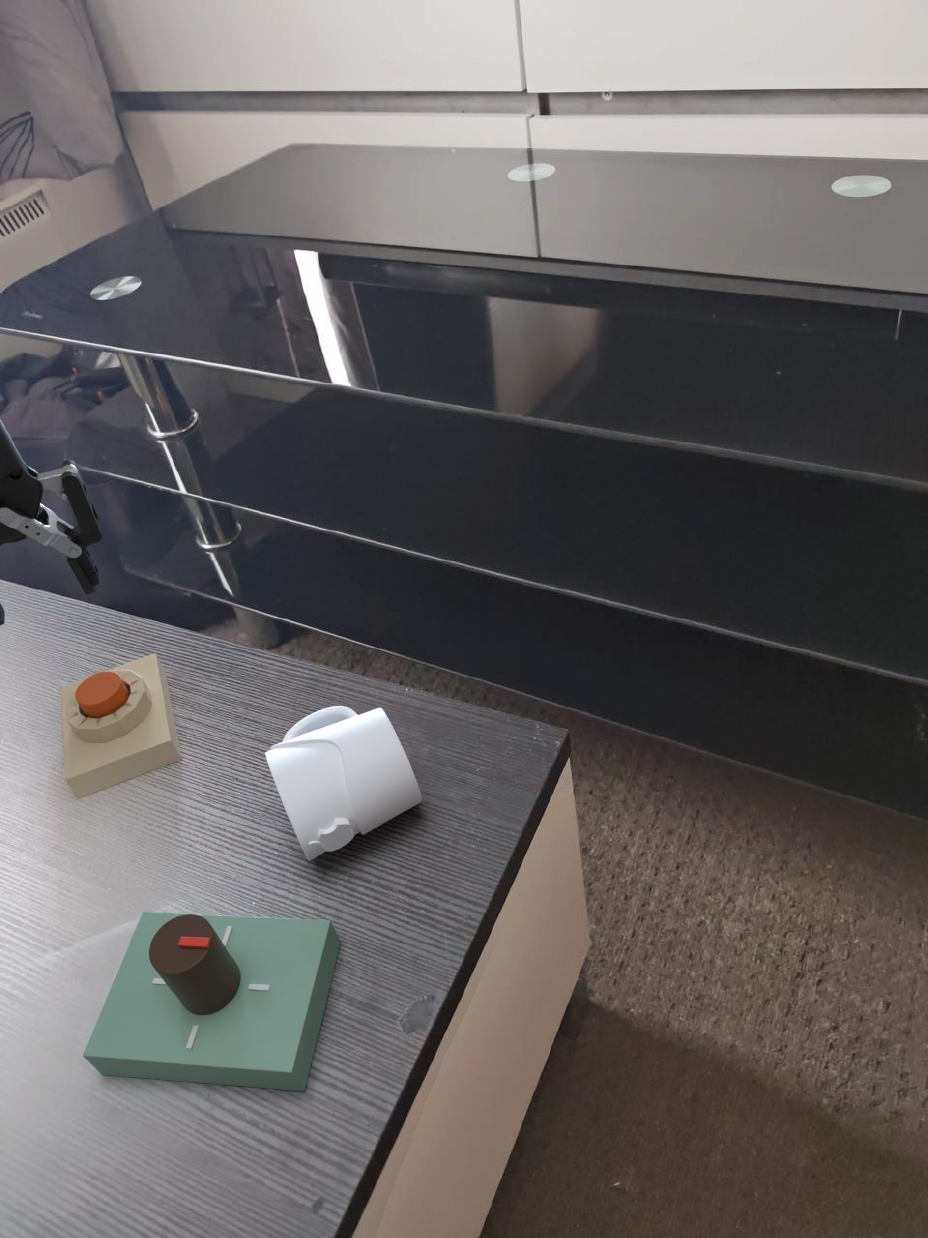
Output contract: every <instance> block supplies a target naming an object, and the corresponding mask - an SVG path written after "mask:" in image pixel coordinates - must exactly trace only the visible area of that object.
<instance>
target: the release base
mask: <svg viewBox="0 0 928 1238" xmlns="http://www.w3.org/2000/svg"><path fill="white" fill-rule="evenodd" d="M105 671H110V672H115V673H117V674H118V675H119V676H120V677H121V679H122V681H123V683H124V684H125V686H126V688H127V689H128V692H129V696H128V700H127V702H126V703H125V705H123V706H122V707H121V708H120V709H118V710H117V711H116V712H115V713H113V714H110V715H107V716H105V717H102V718H90V717H88V716H87V715H86V714H85V713H84V712H83V710H82V708H81V707H80V705H79V704H78V702H77V701H76V698H75V693H76V690H77V688H78V687H79V685H80V684H81V683H82V682H83V681H84V680H86V679H87V678H88V677H89V676H88V677H84V678H82V679H80V680H76V681H74V682H70V683H68V684H66V685H62V686H60V689H59V690H60V708H61V725H62V726H61V727H62V746H63V764H64V765H63V767H64V768H63V769H64V781H65V782H66V783H67V785H68V786H69V788H70V789H71V790H72V792H73V793H74V794H75V796H76V798H77V799H82V798H85V797H88V796H90V795H93V794H96V793H98V792H101V791H103V790H106V789H108V788H111V787H113V786H116V785H120V784H122V783H124V782H127V781H129V780H131V779H134V778H137V777H140V776H142V775H143V776H144V775H145V774H148V773H150V772H153V771H156V770H158V769H161V768H163V767H166V766H169V765H171V764H174V763H176V762H180V761H182V759H183V758H182V753H181V747H180V741H179V737H178V730H177V725H176V720H175V719H176V718H175V715H174V710H173V703H172V698H171V693H170V687H169V682H168V676H167V673H166V670H165V667H164V666H163V663H161V661H160V659H159V657H158V655H157V653H151V654H149V655H146V656H143V657H140V658H137V659H135V660H131V661H130V662H126V663H124V664H120V665H118V666H116V667H112V668H110V669H107V670H105ZM105 671H103V672H105Z"/></svg>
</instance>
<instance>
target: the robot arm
mask: <svg viewBox="0 0 928 1238" xmlns="http://www.w3.org/2000/svg"><path fill="white" fill-rule="evenodd" d="M44 491H50V492H52V493H53V494H54V495H55V496H56V497H57V499H60V500H61V501H67V500H68V502H69V504H70V507H71V509H72V511H73V514H74V516H75V518H76V521H77V523H78V524H77V525H76V526H72V525H71V524H69V523H67V521H64V520H63V519H61V518H60V517H58V515H57V514H56V512H54V511H53V510H52V509H50V508H48V507H47V506H45V505H44V504H42V503H41V502H42V498H43V494H44ZM28 538H29V539H31V540H33V541H35V542H37V543H38V544H40V545H42V546H44V547H49V546H50V548H53V549H54V550H55V551H57V552H59V553H61V554H63V555H64V556H66V562H67V564H68V566H69V567H70V569H71V571H72V572H73V574H74V576H75V578H76V579H77V581H78V584H79V586H81V588H82V590H83V592H84V594H85V595H86V596H90V595H92V594H94V593H97V587H96V586H98V585H100V575H99V567H98V566H97V564H96V562H95V560H94V559H93V557H92V555H91V553H90V551H89V549H88V547H89V546H90V545H93V544H98V543H99V542H101V541H102V539H103V535H102V526H101V519H100V516H99V514H98V512H97V509H96V506H95V504H94V501H93V499H92V496H91V493H90V491H89V489H88V486H87V484H86V482H85V479H84V477H83V474H82V472H81V470H80V467H79V465H78V463H77V462H76V461H74V460H71V459H66V460H64V461H62V462H61V464H60V468H57V469H53V470H49V471H44V472H39V473H38V471H36V470H35V469H33V468H32V467H30V466H29V465H27V463H26V462H25V461H24V459H23V457H22V455H21V453H20V452H19V450H18V449H17V446H16V445H15V443H14V441H13V439H12V438H11V435H10V434H9V432H8V430H7V428H6V427H5V425H4V423H3V421H2V420H1V419H0V547H1V546H2V545H4V544H11V543H18V542H21V541H24V540H27V539H28ZM4 609H5V608H4V607H3V605H2V604H1V603H0V626H3V625H5V620H6V619H5V613H6V612H5V610H4Z"/></svg>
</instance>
